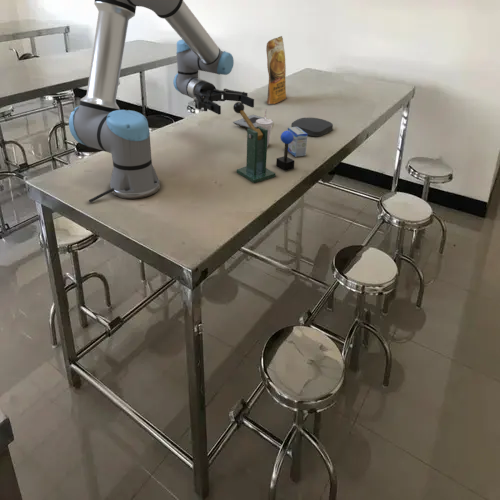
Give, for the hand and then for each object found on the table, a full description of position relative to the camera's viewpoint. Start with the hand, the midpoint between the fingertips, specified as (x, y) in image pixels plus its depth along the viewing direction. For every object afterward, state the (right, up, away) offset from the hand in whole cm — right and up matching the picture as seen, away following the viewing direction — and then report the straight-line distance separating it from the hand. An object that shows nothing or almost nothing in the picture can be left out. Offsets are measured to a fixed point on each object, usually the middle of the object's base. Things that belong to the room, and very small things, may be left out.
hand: (236, 106), depth 161 cm
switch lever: (+3, -6, -1) cm, 7 cm away
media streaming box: (+30, +3, +41) cm, 51 cm away
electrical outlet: (+6, +5, +43) cm, 44 cm away
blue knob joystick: (+17, -19, +9) cm, 26 cm away
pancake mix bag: (+17, +25, +74) cm, 80 cm away
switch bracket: (+6, -22, +3) cm, 23 cm away
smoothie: (+9, -8, +25) cm, 28 cm away
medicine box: (+21, -11, +20) cm, 32 cm away
